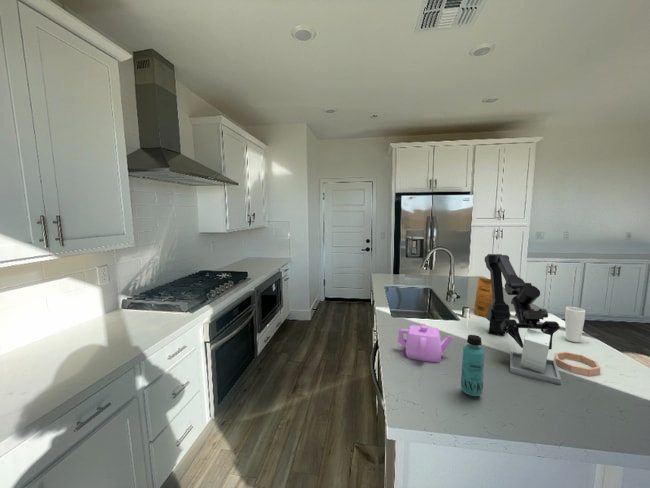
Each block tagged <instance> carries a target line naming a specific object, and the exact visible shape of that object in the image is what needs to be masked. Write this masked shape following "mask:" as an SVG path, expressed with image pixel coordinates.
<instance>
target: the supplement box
mask: <svg viewBox="0 0 650 488" xmlns="http://www.w3.org/2000/svg"><path fill="white" fill-rule="evenodd" d="M526 329H527V330H526V333H525V335H524V338H523V348H522V352H521V354H522V357H521V366H523V367H526V368H529V369H532V370H535V371H537V372H540V373H544V370H545V366H546V361H547V359H548V355H549V345H550V337H551V335H548V334H545V333H543V332H542V331H538V330H537V331H536V330H535V329H528V328H526Z"/></svg>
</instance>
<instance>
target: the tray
mask: <svg viewBox="0 0 650 488" xmlns="http://www.w3.org/2000/svg"><path fill="white" fill-rule="evenodd" d="M509 352H510V353H509V354H510V355H509V363H510V365H509V368H510V369H509V370H510V371H509V373H510V374H514V375H517V376H522V377H526V378H530V379H535V380H538V381H542V382H547V383H551V384H554V385H558V386H559V385H560V386H561V385H562V378H561V375H560V371H559V368H558V366H557V364H556V361H555V360H553V359H548V358H547V361H546V366H545V370H544V373H540V372H537V371H535V370H532V369H529V368H526V367H523V366H521V357H522V353H520V352H516V351H515V352H514V351H509Z"/></svg>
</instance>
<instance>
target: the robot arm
mask: <svg viewBox="0 0 650 488" xmlns="http://www.w3.org/2000/svg"><path fill="white" fill-rule="evenodd" d="M484 263H485V266H486V269H487V270H488V271H489V272H490V279H491V286H492V298H493V301H492V303H491V304H490V306H489V311H488V312H487V313H486V317H485V318H486V320H488V321H489V325H488V327H489V329H488V334H491V335H495V336H496V335H498V336H502V337H504V336H505V334H508V335H509V336H510V337H511V338H512V339H513V340H514V341H515V342H516V344H518V346H519V347H520V348H522V349H523V344H524V342H523V340H522V337H521V334H520V329H531V330H540V332H541V333H545V334H548V335H551V337H550V345H549V350H552V348H553V337H554V334H555V333H556V332H557V331H559V330H560V329H561V327H560V324H559V323H558V322H557V321H553V320H545V321H544V322H543V323H539V322H540V320H544V319H545V318H546V319H547V318H548V317H549V313H548V311H547V309H546V308H538V310H535V308H532V306H531V304H533V303H534V302H535V301H537V299H538V298H539V297H540V296H541V291H540V289H539V288H538V287H537V286H535V285H532V283H531V282H525V281H524V279H522V278H521V277H519V276H518V275H517V273H516V271H515V269H514V267H513V265H512V263H511V261H510V257H509V255H506V254H501V253H500V254H499V253H498V254H497V253H494V254H493V253H488V254H487V255H485V256H484ZM503 278H504V281H505V283H504V284H503ZM503 285H504V286H503ZM503 287H504V288H503ZM504 290H505V293H506V294H507V295H509V296H513V297H512V299H511V301H510V304H512V305H513V307H514V311H515V314H514V316H515V317H516V318H517V320H518V322H517V320H516V319H511V311H510V305H509V304H507V303H506V301H505V299H504ZM549 350H548V351H549Z"/></svg>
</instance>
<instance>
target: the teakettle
mask: <svg viewBox="0 0 650 488" xmlns="http://www.w3.org/2000/svg"><path fill="white" fill-rule="evenodd" d="M404 334H406V335H407V336H406V338H404ZM397 338H398V339H397V342H398V343H399V344H400V345H402V346H403V347H405V354H406V357H407V358H408V359H413V360H416V361H421V362H422V361H423V362H431V363H440V362H441V359H442V354H443V353H444V352H445V350H446V349H447V348H448V346H449V345H451V342H452V341H453V340H454V336H453V335H449V334H448V336H447V337H446V338H444V339H443V340H441V335H440V329H439V328H437V327H433V326H427V325H426V324H423V323H422V324H421V325H417V324H416V325H415V324H412V325H411V324H410V325H409V328H402V327H401V328H399V330H398V337H397Z"/></svg>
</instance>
